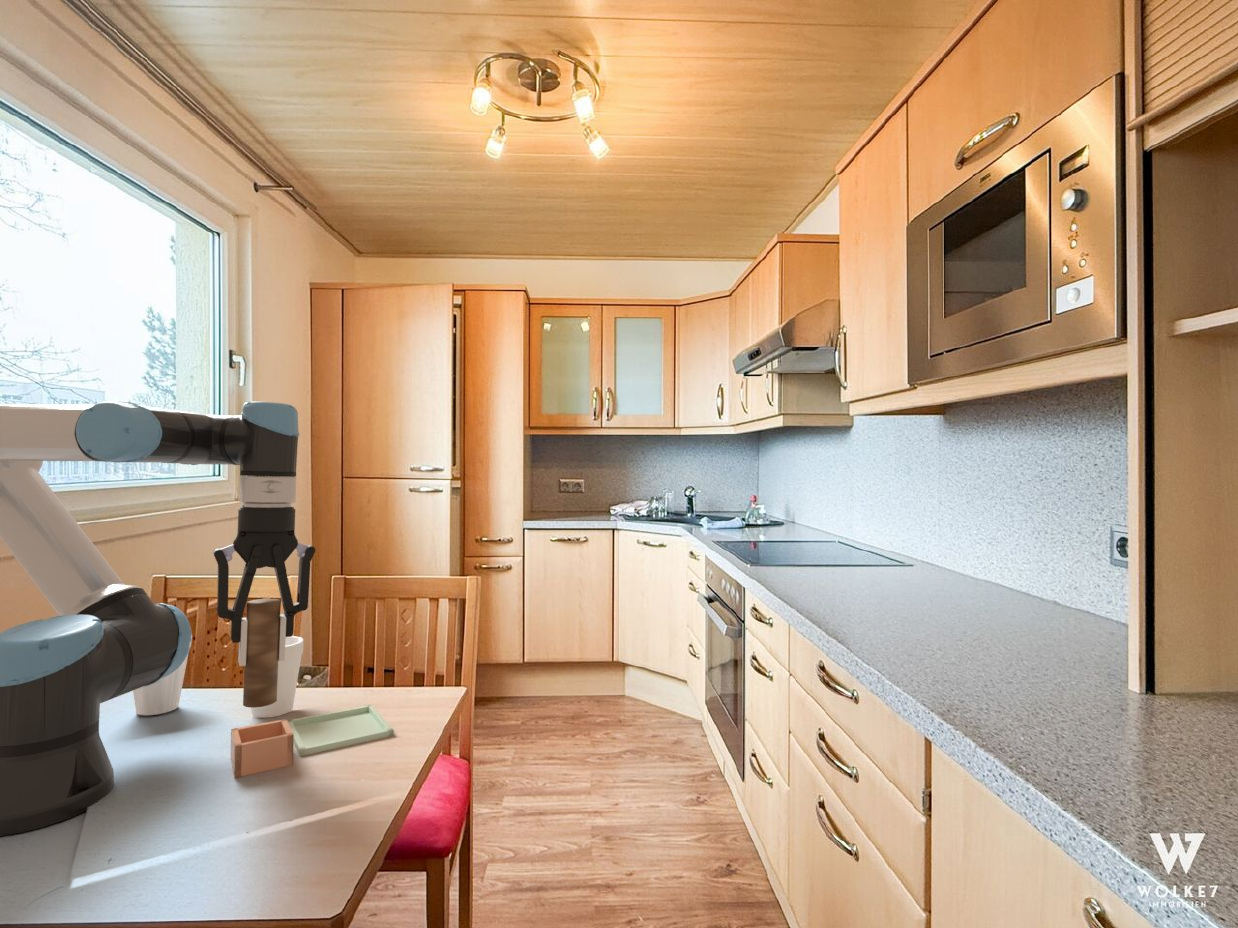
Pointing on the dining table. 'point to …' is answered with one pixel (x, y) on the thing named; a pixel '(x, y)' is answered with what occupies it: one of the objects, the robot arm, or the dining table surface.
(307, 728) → the tray
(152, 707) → the cup
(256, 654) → the dowel
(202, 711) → the dining table surface
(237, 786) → the dining table surface
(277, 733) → the orange open box
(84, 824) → the dining table surface
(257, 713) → the foam cup
